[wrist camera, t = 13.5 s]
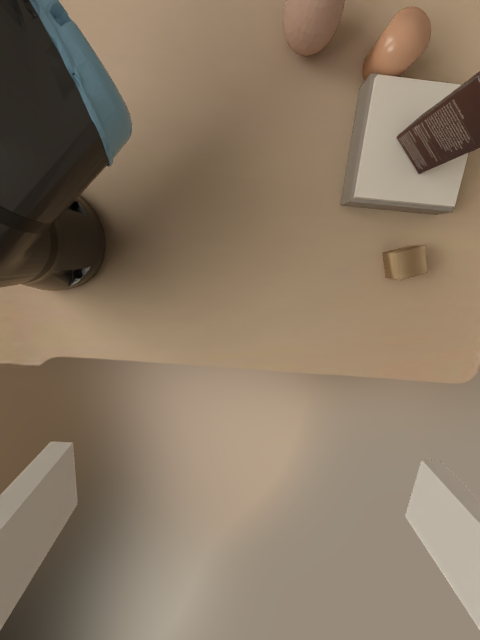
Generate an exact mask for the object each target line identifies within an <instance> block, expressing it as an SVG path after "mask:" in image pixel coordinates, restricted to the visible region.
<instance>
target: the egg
mask: <svg viewBox="0 0 480 640" xmlns="http://www.w3.org/2000/svg"><path fill="white" fill-rule="evenodd" d="M343 8H344V0H286V3H285V8H284V17H283V26H284V32H285V36H286V40H287V42H288V44H289V46H290V47H291V48H292V49H293V50H294V51H295V52H296V53H298V54H300V55H304V56H309V55H312V54H315V53H317V52H319V51H320V50H322V49H323V48H324V47H325V46H326V45H327V43H328V42H329V41H330V40H331V38H332V37H333V35H334V33H335V31H336V29H337V27H338V24H339V22H340V19H341V16H342V12H343Z"/></svg>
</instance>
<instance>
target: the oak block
mask: <svg viewBox="0 0 480 640" xmlns="http://www.w3.org/2000/svg"><path fill="white" fill-rule="evenodd" d="M383 260H384V268H385V276H386V278H393V279H399V280H402V279H405V278H409V277H413V276H417V275H421V274H424V273H427V264H426V252H425V245H423V246H406V247H402V248H398V249H395V250H391V251H387V252H383Z"/></svg>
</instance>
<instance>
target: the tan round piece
mask: <svg viewBox="0 0 480 640" xmlns="http://www.w3.org/2000/svg"><path fill="white" fill-rule="evenodd" d="M430 36H431V25H430V21H429V18H428V16H427V14H426V13H425V12H424V11H423V10H421V9H420V8H417V7H407V8H404V9H402V10H401V11H399V12H398V13H397V14H396V15H395V17H394V18H393V19H392V21H391V22H390V24H389V25H388V26H387V28H386V29H385V31H384V32H383V34H382V35H381V37H380V38H379V39H378V41H377V42H376V44H375V45H374V47H373V48H372V50H371V51H370V52H369V54H368V55H367V57H366V59H365V61H364V64H363V78H364V80H365V81H366V79H367V78H368V77H369V76H370V74H371V73H374V74H382V75H390V76H398V77H400V76H401V75H402V74H403V72H404V71H405V70H406V69H407V68H408V67H409V66H410V65H411V64H412V63H413V62H414V61H415V60H416V59H417V58H418V57H419V56H420V55H421V54H422V53H423V51H424V50H425V49H426V47H427V45H428V43H429V40H430Z"/></svg>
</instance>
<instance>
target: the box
mask: <svg viewBox="0 0 480 640" xmlns="http://www.w3.org/2000/svg"><path fill="white" fill-rule="evenodd" d="M396 138H397V140H398V141H399V143H400V144H401V146H402V148H403V149H404V151H405V153H406V154H407V156H408V157H409V159H410V161H411V162H412V164H413V166H414V167H415V169H416V171H417V172H418V174H421V173H423V172H425V171H428V170H430V169H432V168H434V167H437V166H439V165H441V164H444V163H446V162H448V161H451V160H453V159H455V158H457V157H460V156H462V155H464V154H466V153H469V152H471V151H473V150H475V149H478V148H480V72H478V73H477V74H476V75H474V76H473V77H472V78H470V79H469V80H468V81H466V82H465V83H464V84H462V85H461V86H460V87H458V88H457V89H456V90H454V91H453V92H452V93H450V94H449V95H448V96H446V97H445V98H444V99H442V100H441V101H440V102H438V103H437V104H436V105H434V106H433V107H432V108H430V109H429V110H428V111H426V112H425V113H423V114H422V115H421V116H420V117H419V118H417V119H416V120H415V121H414V122H413V123H412V124H410V125H409V126H408V127H407V128H406V129H405V130H403V131H402V132H401V133H400V134H399V135H398V136H397V137H396Z"/></svg>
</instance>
